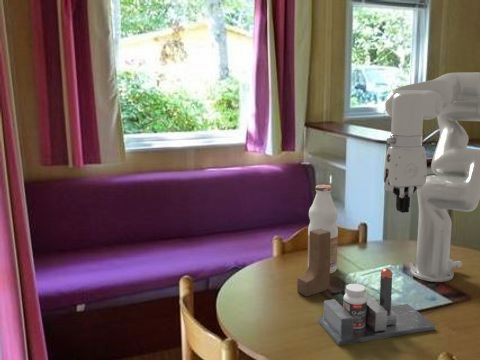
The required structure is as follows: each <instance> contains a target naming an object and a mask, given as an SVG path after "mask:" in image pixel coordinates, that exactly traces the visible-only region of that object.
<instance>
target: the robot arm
mask: <svg viewBox="0 0 480 360" xmlns="http://www.w3.org/2000/svg"><path fill="white" fill-rule="evenodd" d="M384 104H385V112H386V113H387V115H388V116H389V117H390V118H391V126H390V137H387V138H386V143H387V144H389V146H388V148H387V151H386V156H385V161H384V167H383V182H384V183H383V184H384V187H383V189H384V190H385V191H387V192H392V193H393V194H394V196H395V197H396V198H395V199H396V200H395V201H396V202H395V207H396V211H397V212H400V213H402V214H405V213H409V212H410V203H411V198H412V197H413V194H414V193H415V192H416V195H417V203H418V204H417V205H418V225H417V226H418V228H417V239H416V240H417V243H416V257H415V258H416V260H415V264H414V265H412V266H411V267H410V274H411V275H412V276H413V277H415V278H417V279H418V280H419V279H420V280H422V281H426V282H432V283H433V282H434V283H445V282H449V281H451V280H452V279H453V278H454V271H453V269H455V268H461V267H463V262H462V261H461V260H455V261H454V260H453V259H451V258H450V252H451V250H450V249H451V241H452V239H451V238H452V225H453V224H452V219H451V216H450V214H449V212H448V211H447V210H453V211H459V212H466V213H467V212H468V213H469V212H473V211H475V210H476V209H477V208H478V205H479V202H480V149H479V148H467V147H468V144H469V140H470V139H469V135H468V134H467V131H466V130H465V128H464V127H463V126H462V125H461V124H460V123H459V121H463V122H480V72H477V71H475V72H473V71H471V72H470V71H469V72H467V71H465V72H448V73H445V74H442V75H440V76H438V77H436V78H434V79H431V80H430V79H429V80H426V81H421V82H418V83H411V84H405V85H402V86H399V87H397V88H395V89H393V90H391V91H390V92H389V94H388V96H387V98H386V99H385V103H384ZM433 119H437V123H438V129H439V138H438V141H437V144H436V147H435V150H434V153H433V156H432V160H431V164H430V168H431V172H432V173H433V174H434V175H428V174H427V173H428V166H427V154H426V148H425V146H422V145H423V130H424V129H423V127H424V126H423V125H424V120H430V121H431V120H433Z"/></svg>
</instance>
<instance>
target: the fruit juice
mask: <svg viewBox="0 0 480 360" xmlns="http://www.w3.org/2000/svg"><path fill="white" fill-rule="evenodd" d="M315 191H316V194H315V197H314V199H313V201H312V204H311V206H310V207H309V208H308V209H309V210H308V218H309V224H308V227H307V229H308V230H307V267H308V266H309V243H310V231H312V230H316V229H320V228H321V229H324V230H326V231H329V232H330V233H331V237H330V275H331V274H333V273H335V272H336V271H337V269H338V238H339V230H338V225H337V219H338V214H339V213H338V209H337V207H336V205H335V203H334V200H333V197H332V194H331V192H332V186H331V185H330V184H329V185H328V184H318V185H316V186H315Z"/></svg>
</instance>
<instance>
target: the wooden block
mask: <svg viewBox="0 0 480 360" xmlns="http://www.w3.org/2000/svg"><path fill="white" fill-rule="evenodd" d="M330 237H331V233H330V232H329V231H326V230H324V229H321V228H320V229H316V230H312V231H310V243H309V266H308V265H307V270H306V271H305V272H304V274H302V275H300V276H298V277H297V281H296V282H297V284H296V285H297V292H298V293H299V294H301V295H303V296H304V297H310V296H313V295H316V294H319V293H322V292H325V291H328V290H330V283H331V281H330V280H331V279H330V278H331V276H330V275H331V274H330ZM327 289H328V290H327ZM324 290H325V291H324Z"/></svg>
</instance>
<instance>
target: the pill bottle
mask: <svg viewBox="0 0 480 360" xmlns="http://www.w3.org/2000/svg"><path fill="white" fill-rule="evenodd" d="M364 294H366V287H365V286H364V285H363V284H359V283H348V284H347V285H345V294H344V295H343V298H342V299H343V300H342V301H343V302H342V307H343V308H344V309H345V310H346V311H347V312H348V313H349V314H350V315H351V316H352V317H353V329H361V328H363V327H364V326H365V325H366V310H367V298H366V296H365V295H364Z"/></svg>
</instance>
